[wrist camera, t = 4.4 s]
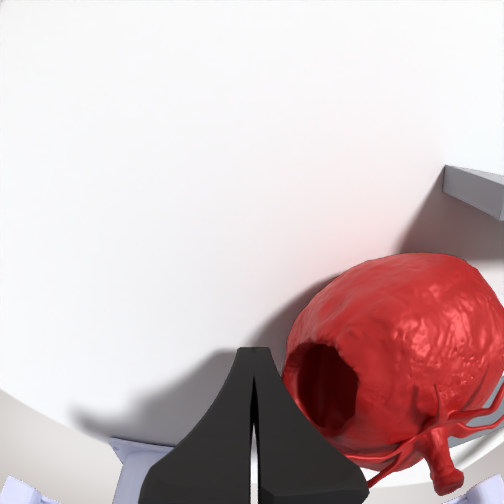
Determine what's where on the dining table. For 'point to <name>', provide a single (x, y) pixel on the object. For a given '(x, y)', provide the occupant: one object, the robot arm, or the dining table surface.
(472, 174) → the tray
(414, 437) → the pomegranate
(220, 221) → the dining table surface
